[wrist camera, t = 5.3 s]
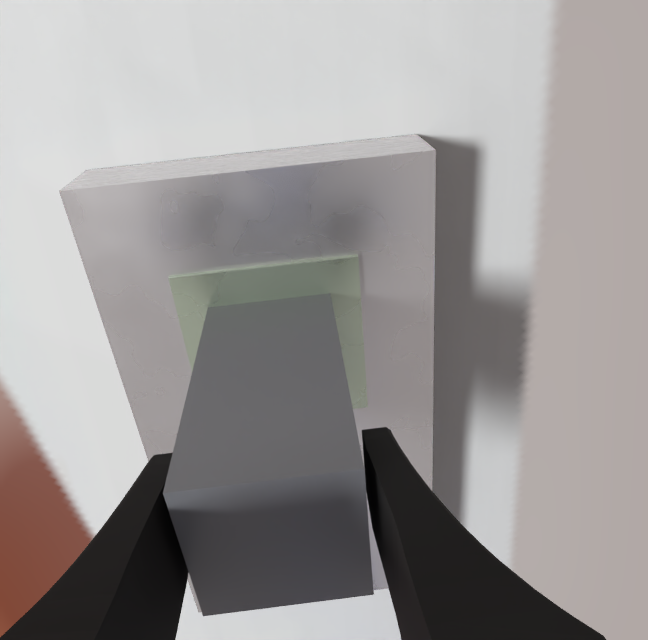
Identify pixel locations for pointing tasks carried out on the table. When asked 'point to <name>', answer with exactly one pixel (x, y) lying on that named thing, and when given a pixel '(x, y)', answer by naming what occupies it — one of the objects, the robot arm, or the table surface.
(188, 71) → the table surface
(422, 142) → the plate
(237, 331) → the grey rectangular block
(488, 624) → the robot arm
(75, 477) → the table surface
